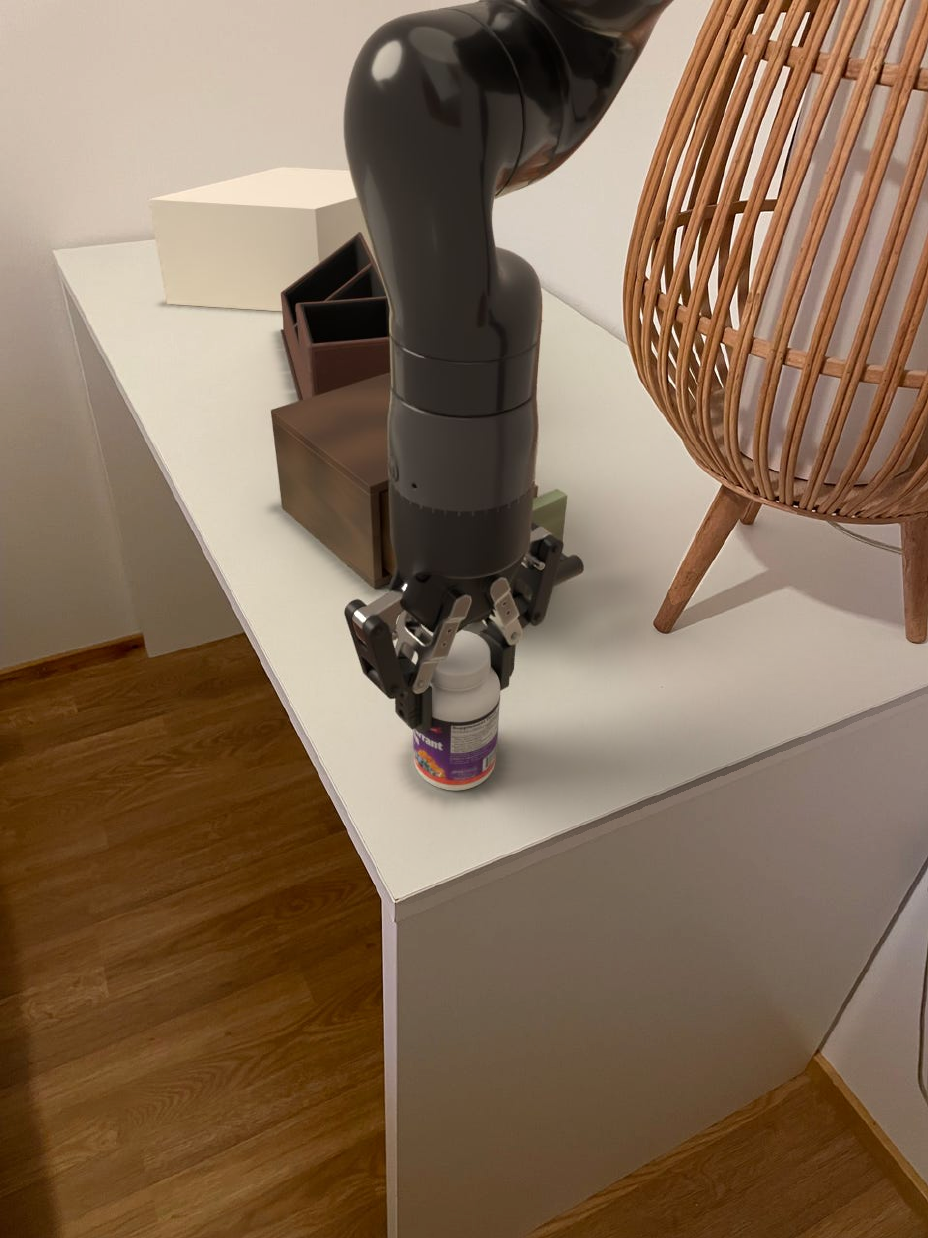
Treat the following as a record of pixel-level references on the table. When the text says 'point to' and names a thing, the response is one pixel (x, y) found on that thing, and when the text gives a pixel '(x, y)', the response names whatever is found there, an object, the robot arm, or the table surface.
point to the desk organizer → (337, 322)
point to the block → (252, 235)
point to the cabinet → (338, 470)
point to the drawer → (544, 513)
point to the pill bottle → (461, 718)
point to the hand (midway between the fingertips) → (456, 701)
